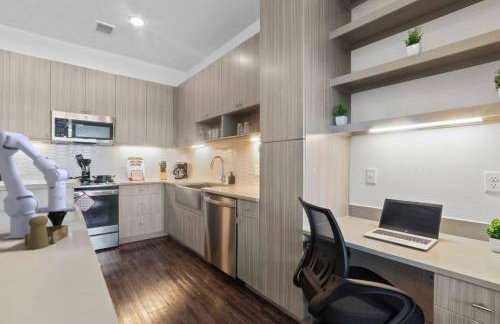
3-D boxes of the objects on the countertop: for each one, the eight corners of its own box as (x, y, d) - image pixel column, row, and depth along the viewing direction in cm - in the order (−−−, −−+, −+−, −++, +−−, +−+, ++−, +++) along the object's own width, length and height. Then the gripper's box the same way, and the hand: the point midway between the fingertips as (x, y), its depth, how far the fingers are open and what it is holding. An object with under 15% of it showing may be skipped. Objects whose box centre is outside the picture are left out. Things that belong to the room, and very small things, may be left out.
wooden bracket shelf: (42, 237, 95) (42, 226, 95) (68, 235, 97) (68, 225, 97) (24, 246, 84) (23, 234, 84) (53, 244, 87) (53, 232, 87)
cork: (36, 250, 81) (35, 218, 81) (22, 249, 82) (22, 218, 82) (53, 244, 87) (53, 215, 87) (40, 243, 88) (40, 214, 88)
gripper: (81, 195, 103) (81, 225, 103) (42, 196, 100) (42, 228, 100) (74, 197, 97) (74, 230, 97) (31, 199, 93) (31, 233, 93)
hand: (57, 229), depth 98 cm, fingers closed, pressing on wooden bracket shelf
